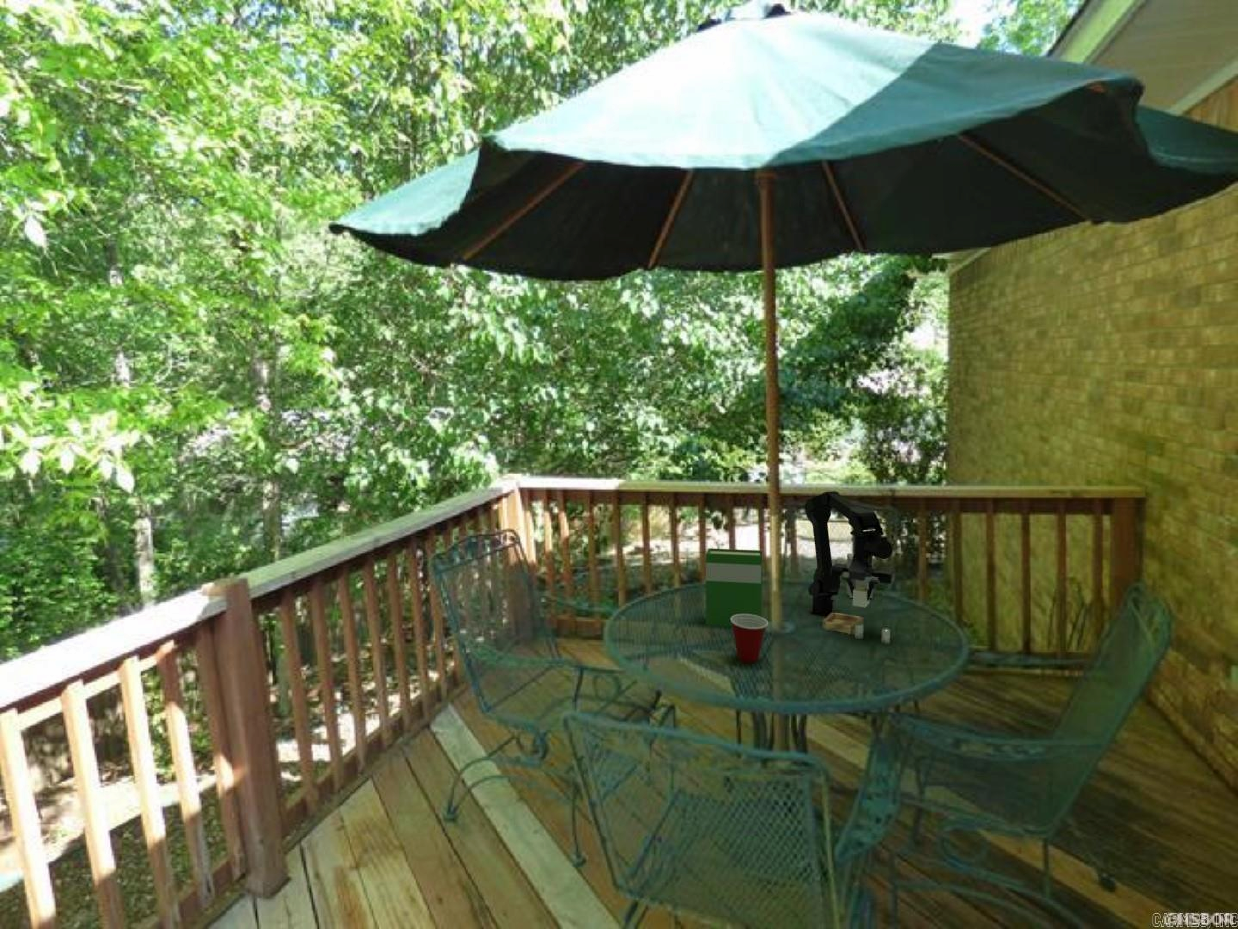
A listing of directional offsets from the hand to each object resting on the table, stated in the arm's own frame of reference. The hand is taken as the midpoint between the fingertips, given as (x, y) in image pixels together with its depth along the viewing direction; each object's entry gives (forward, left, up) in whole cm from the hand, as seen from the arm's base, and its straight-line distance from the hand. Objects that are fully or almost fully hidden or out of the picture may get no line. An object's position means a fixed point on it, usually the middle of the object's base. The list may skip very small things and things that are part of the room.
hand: (861, 599), depth 240 cm
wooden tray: (-6, +2, -11) cm, 12 cm away
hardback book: (-38, -12, -11) cm, 41 cm away
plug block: (0, 0, -2) cm, 2 cm away
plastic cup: (-22, -39, -11) cm, 46 cm away
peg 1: (+1, -5, -11) cm, 12 cm away
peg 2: (+9, -5, -11) cm, 15 cm away
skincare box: (-10, +37, -11) cm, 40 cm away
